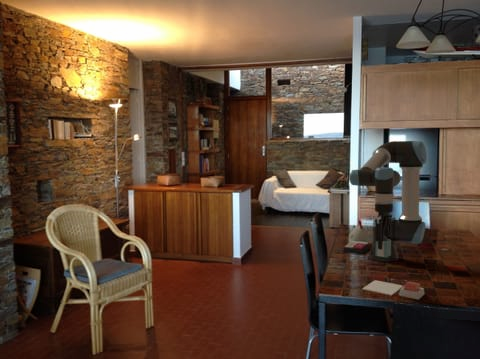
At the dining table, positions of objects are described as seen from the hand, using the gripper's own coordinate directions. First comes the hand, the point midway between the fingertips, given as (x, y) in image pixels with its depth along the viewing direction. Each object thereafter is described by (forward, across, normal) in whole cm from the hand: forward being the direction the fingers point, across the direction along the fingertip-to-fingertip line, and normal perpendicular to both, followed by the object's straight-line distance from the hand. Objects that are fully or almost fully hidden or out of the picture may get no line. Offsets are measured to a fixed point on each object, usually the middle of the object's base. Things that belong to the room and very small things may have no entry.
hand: (383, 254), depth 195 cm
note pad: (+15, 0, 0) cm, 15 cm away
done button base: (+15, +1, +13) cm, 20 cm away
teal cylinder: (0, 0, 0) cm, 0 cm away
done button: (+12, +1, +13) cm, 18 cm away
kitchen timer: (+15, -70, -42) cm, 83 cm away
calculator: (+16, -56, -38) cm, 69 cm away
